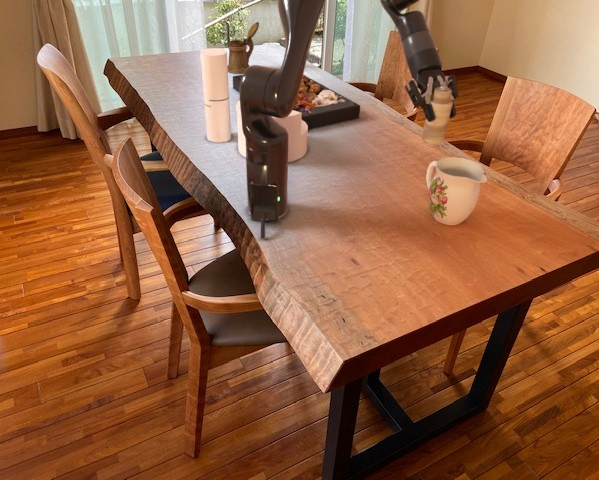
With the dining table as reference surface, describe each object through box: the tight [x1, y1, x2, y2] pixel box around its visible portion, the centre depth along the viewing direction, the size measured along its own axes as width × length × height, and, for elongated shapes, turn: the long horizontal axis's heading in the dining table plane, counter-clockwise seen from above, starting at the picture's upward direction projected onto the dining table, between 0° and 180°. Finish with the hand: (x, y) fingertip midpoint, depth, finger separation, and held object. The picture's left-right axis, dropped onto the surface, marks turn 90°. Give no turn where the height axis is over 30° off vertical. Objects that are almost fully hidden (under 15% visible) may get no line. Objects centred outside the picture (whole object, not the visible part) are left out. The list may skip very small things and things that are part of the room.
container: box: [235, 98, 309, 163], centre depth 141 cm, size 20×20×13 cm
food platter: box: [232, 74, 361, 131], centre depth 172 cm, size 45×25×10 cm, turn 32°
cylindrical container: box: [199, 47, 232, 144], centre depth 142 cm, size 7×7×25 cm
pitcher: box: [425, 156, 488, 226], centre depth 114 cm, size 11×18×14 cm, turn 24°
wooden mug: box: [227, 21, 260, 74], centre depth 198 cm, size 9×14×18 cm, turn 112°
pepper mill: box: [421, 85, 454, 145], centre depth 121 cm, size 6×6×14 cm
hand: (442, 118), depth 121 cm, fingers closed on pepper mill, 5 cm apart
